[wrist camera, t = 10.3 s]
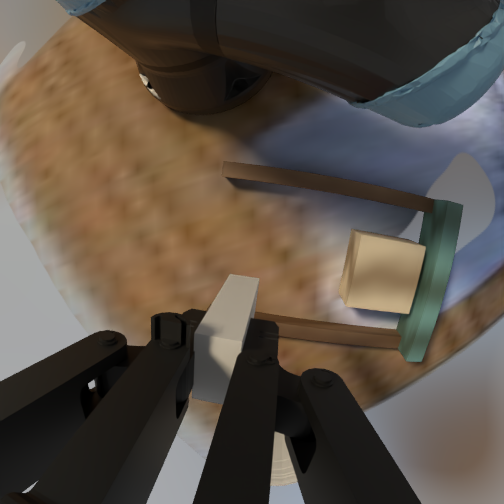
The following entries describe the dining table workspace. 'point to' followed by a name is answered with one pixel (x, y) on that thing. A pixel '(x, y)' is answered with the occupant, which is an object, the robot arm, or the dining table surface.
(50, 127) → the dining table surface
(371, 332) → the guide track
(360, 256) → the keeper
